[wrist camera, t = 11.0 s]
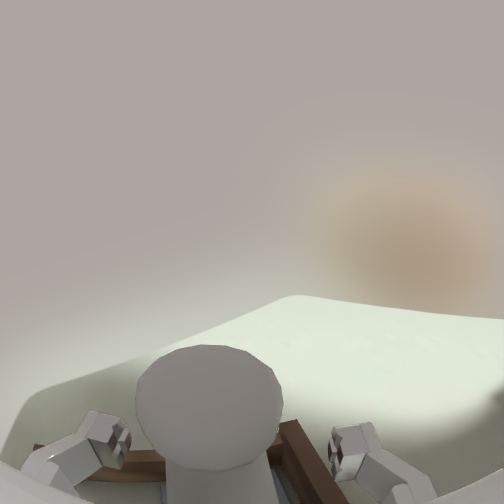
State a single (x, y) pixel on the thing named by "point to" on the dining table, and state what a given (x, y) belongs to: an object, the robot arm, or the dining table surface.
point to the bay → (280, 452)
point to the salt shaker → (212, 424)
